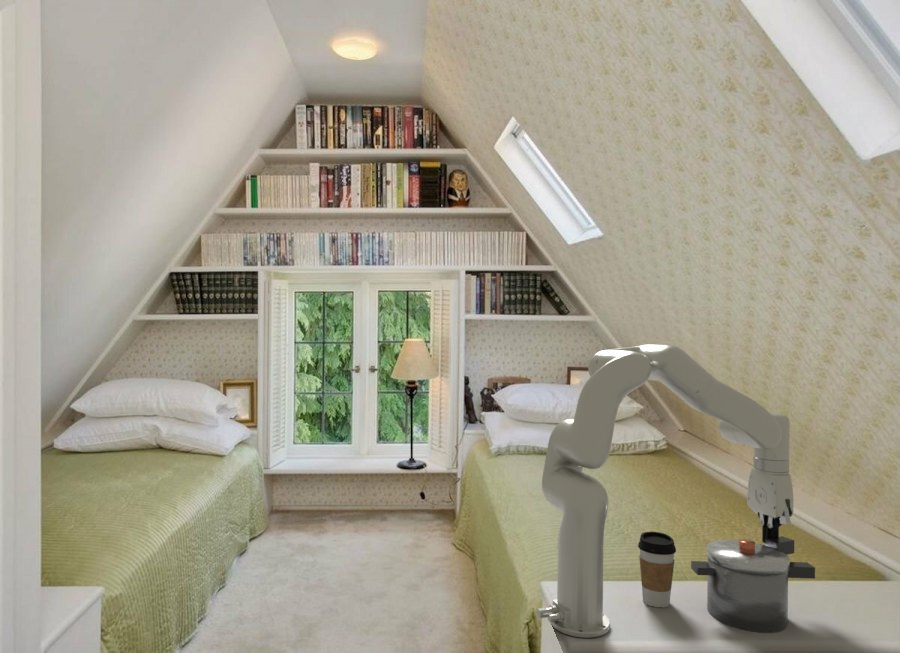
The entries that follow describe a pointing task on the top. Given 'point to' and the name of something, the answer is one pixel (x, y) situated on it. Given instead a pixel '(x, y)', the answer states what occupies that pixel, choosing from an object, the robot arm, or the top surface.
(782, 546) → the cooker lid
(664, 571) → the coffee cup
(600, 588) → the robot arm
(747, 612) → the cooker pot
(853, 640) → the top surface
